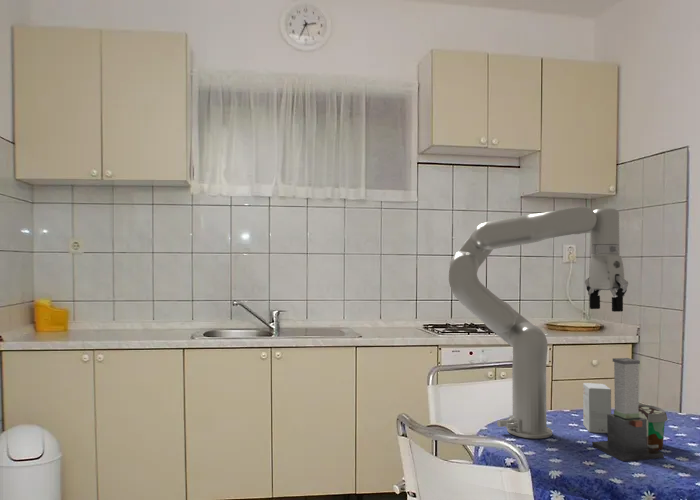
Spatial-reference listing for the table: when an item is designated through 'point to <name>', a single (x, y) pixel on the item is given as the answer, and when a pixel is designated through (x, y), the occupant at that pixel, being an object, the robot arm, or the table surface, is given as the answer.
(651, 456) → the stand
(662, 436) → the food container
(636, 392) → the column
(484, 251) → the robot arm
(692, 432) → the table surface
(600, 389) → the small box
